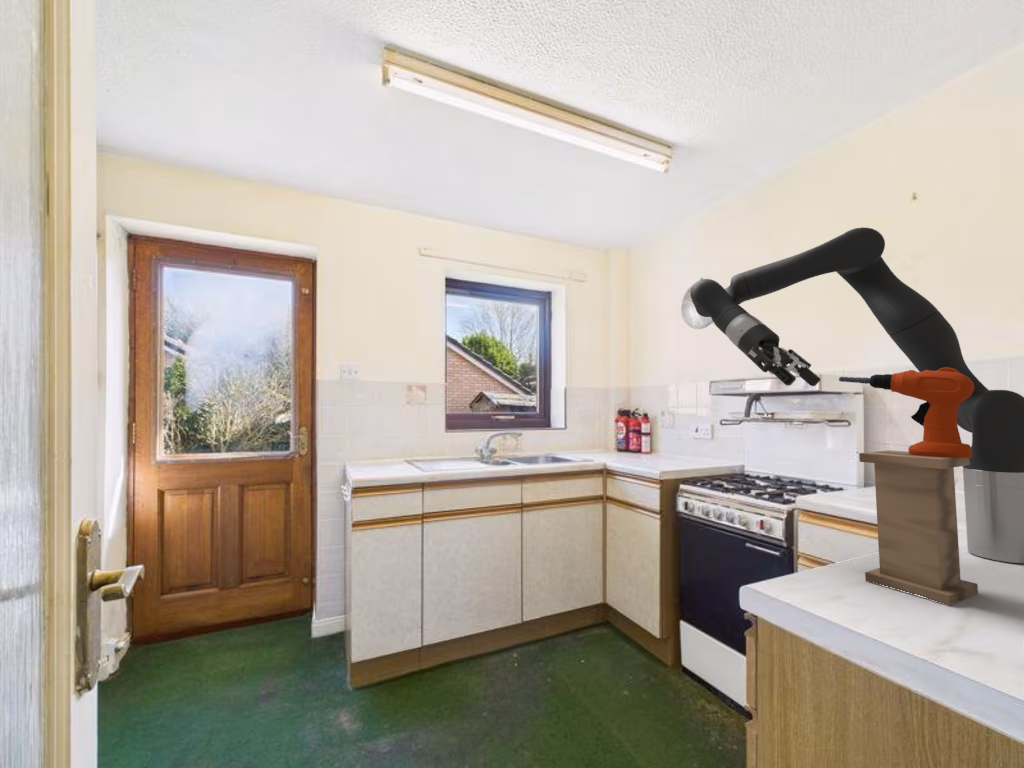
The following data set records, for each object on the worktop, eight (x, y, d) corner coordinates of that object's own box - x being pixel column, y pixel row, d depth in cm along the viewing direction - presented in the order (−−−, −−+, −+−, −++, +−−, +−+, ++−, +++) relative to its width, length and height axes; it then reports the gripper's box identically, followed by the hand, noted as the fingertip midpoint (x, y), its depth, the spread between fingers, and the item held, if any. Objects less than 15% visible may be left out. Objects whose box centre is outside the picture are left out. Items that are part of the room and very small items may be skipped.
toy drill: (837, 441, 87) (845, 364, 87) (974, 462, 72) (985, 369, 72) (827, 442, 85) (835, 362, 84) (968, 464, 69) (979, 367, 69)
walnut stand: (895, 571, 82) (888, 450, 83) (978, 593, 72) (969, 455, 73) (865, 581, 78) (859, 453, 79) (949, 606, 68) (940, 459, 69)
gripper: (740, 320, 99) (796, 368, 88) (781, 325, 105) (837, 370, 94) (720, 347, 103) (771, 396, 92) (760, 350, 109) (812, 396, 99)
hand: (804, 382), depth 93 cm, fingers open, 8 cm apart
